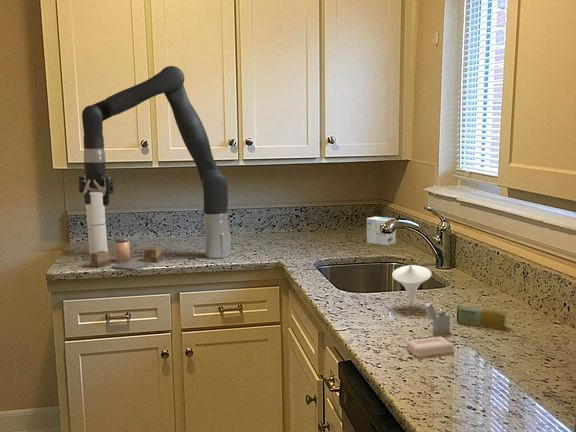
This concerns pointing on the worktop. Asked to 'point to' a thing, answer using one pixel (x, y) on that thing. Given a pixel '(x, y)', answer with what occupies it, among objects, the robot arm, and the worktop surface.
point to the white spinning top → (411, 278)
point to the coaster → (131, 265)
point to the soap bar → (429, 346)
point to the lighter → (438, 319)
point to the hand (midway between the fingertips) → (96, 204)
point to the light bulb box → (379, 232)
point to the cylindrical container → (96, 223)
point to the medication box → (481, 317)
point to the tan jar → (122, 249)
